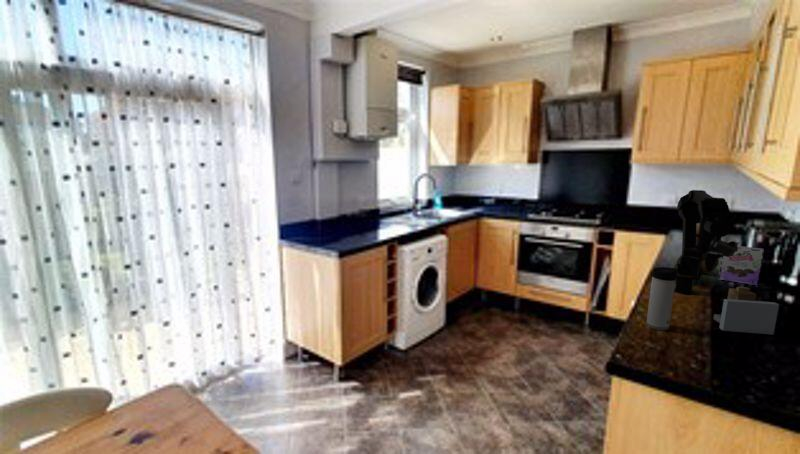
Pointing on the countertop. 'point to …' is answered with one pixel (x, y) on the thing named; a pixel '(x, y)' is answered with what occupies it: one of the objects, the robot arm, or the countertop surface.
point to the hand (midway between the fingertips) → (702, 273)
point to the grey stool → (748, 316)
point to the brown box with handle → (741, 294)
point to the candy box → (742, 266)
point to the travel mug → (661, 298)
